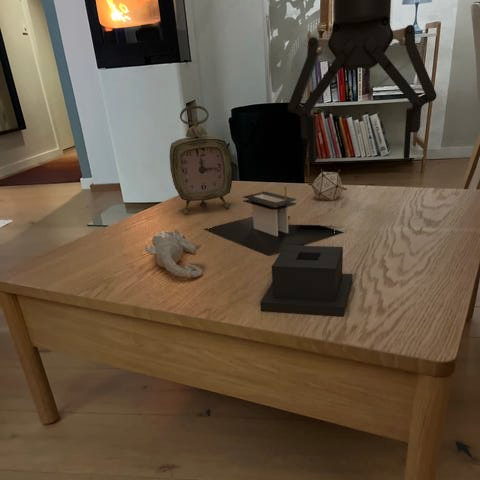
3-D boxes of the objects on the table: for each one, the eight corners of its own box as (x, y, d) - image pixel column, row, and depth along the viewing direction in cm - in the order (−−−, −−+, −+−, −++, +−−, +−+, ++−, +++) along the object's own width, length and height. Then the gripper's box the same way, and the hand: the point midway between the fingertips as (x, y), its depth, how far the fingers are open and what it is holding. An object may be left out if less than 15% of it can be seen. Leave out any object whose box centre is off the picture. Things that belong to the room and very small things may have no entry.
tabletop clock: (179, 217, 119) (164, 109, 108) (175, 209, 127) (160, 107, 116) (235, 209, 122) (226, 103, 110) (228, 202, 130) (218, 101, 118)
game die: (320, 215, 124) (308, 181, 125) (352, 202, 122) (339, 167, 123) (315, 207, 116) (301, 170, 117) (349, 192, 113) (335, 155, 114)
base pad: (352, 282, 76) (353, 249, 74) (343, 316, 66) (344, 280, 64) (279, 278, 80) (277, 247, 77) (260, 311, 70) (258, 276, 67)
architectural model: (272, 211, 118) (270, 170, 113) (344, 232, 99) (345, 184, 94) (203, 229, 109) (198, 185, 104) (268, 255, 90) (266, 204, 85)
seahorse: (228, 265, 84) (185, 224, 98) (169, 259, 78) (132, 217, 92) (220, 291, 86) (179, 247, 101) (161, 287, 80) (127, 241, 94)
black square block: (342, 276, 75) (343, 246, 72) (334, 301, 67) (335, 268, 65) (286, 274, 77) (285, 245, 75) (273, 297, 70) (271, 266, 67)
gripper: (260, -1, 62) (271, 167, 71) (471, -33, 54) (451, 159, 64) (273, 4, 68) (281, 158, 78) (463, -24, 61) (446, 150, 70)
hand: (358, 159), depth 71 cm, fingers open, 13 cm apart
